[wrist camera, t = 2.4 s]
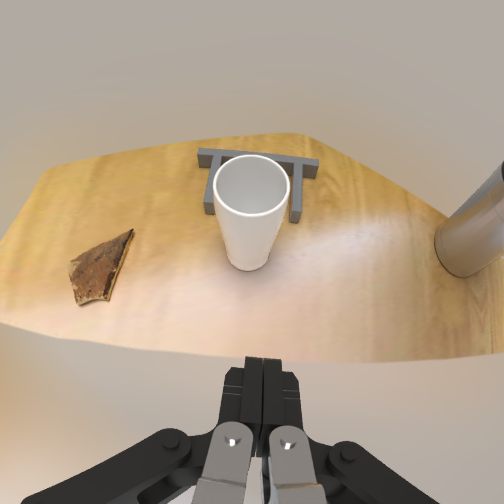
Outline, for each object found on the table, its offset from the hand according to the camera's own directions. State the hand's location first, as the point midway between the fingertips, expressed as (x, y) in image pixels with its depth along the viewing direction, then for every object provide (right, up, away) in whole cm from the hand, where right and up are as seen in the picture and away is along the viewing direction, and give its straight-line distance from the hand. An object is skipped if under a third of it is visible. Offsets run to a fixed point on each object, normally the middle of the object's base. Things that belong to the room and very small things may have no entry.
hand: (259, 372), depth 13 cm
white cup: (-1, +5, +28) cm, 28 cm away
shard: (-21, +3, +27) cm, 34 cm away
